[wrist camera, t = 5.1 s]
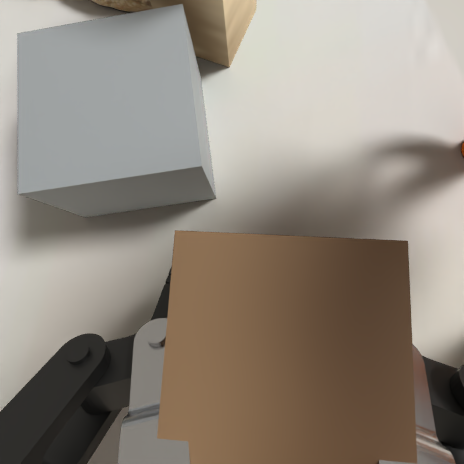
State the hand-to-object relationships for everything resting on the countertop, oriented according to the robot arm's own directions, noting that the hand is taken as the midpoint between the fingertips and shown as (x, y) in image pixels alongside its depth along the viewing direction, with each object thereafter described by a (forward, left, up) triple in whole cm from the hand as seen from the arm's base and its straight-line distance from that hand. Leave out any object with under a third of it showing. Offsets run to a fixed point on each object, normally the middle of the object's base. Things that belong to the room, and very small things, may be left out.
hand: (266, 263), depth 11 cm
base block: (-10, +2, -4) cm, 11 cm away
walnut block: (+1, -2, -4) cm, 5 cm away
